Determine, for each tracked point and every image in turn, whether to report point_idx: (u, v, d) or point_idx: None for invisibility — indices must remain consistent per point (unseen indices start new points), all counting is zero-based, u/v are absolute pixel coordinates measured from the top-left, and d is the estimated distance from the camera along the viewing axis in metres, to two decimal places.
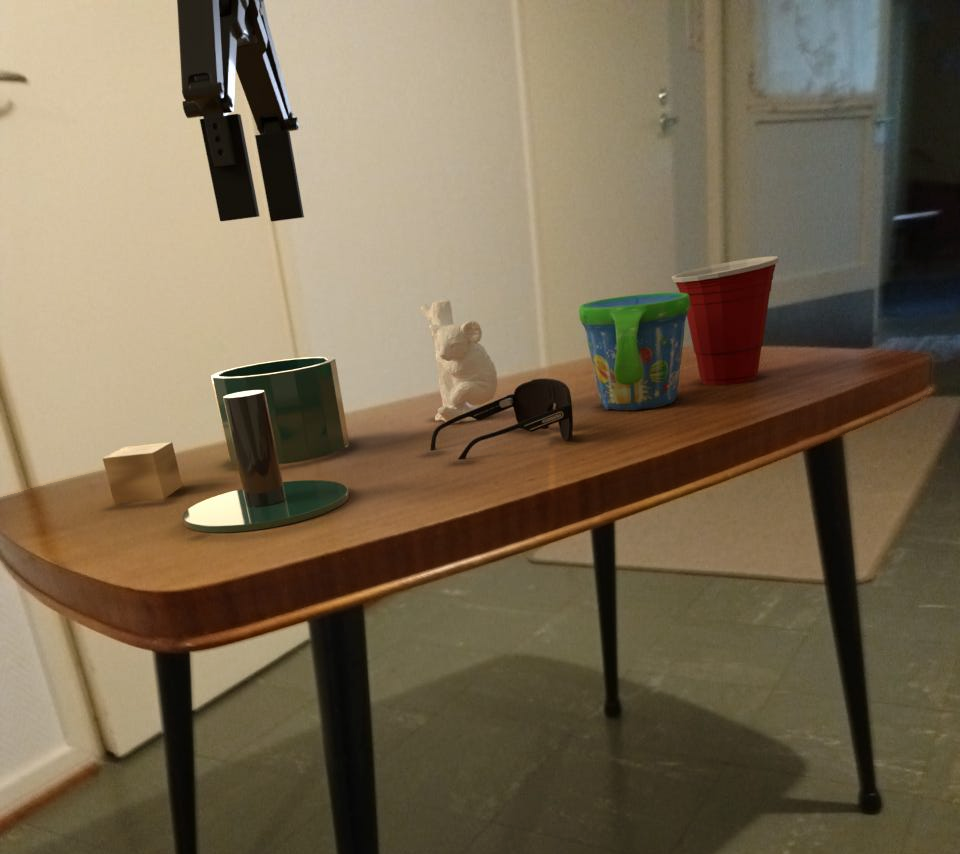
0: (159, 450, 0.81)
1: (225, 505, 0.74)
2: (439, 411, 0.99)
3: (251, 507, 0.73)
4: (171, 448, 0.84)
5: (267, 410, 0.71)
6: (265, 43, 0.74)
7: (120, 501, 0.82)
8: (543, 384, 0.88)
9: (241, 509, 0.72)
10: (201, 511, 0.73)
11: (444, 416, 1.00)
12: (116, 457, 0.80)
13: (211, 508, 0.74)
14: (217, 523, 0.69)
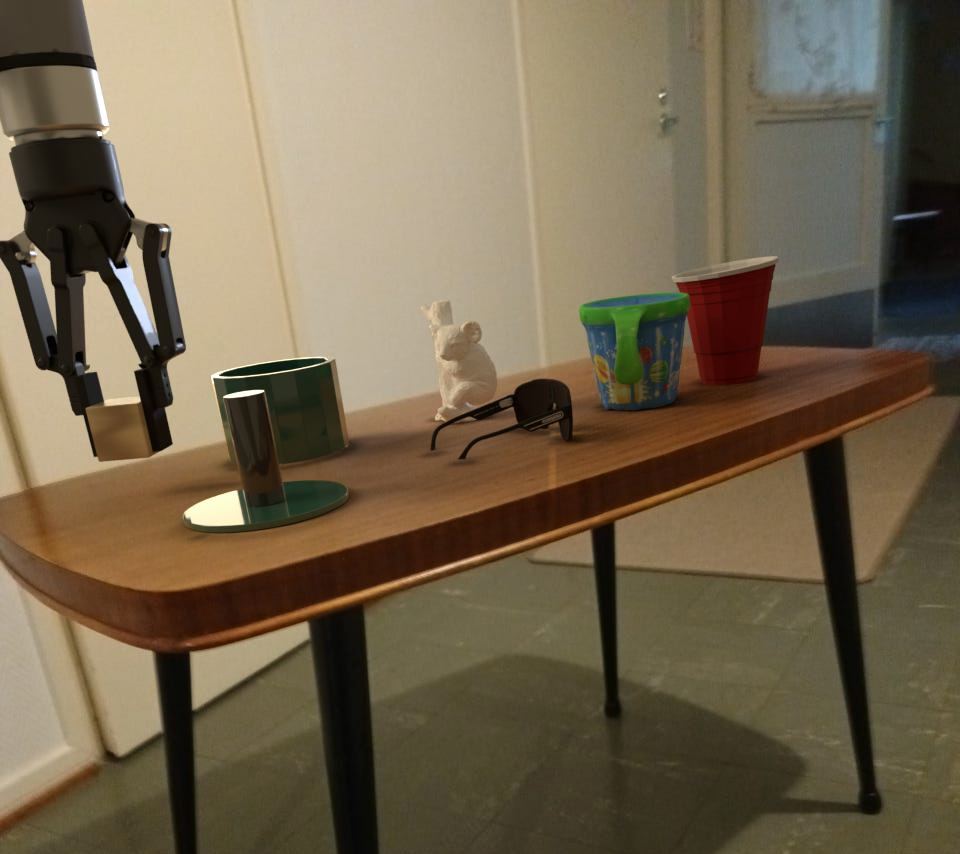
0: None
1: (225, 505, 0.74)
2: (439, 411, 0.99)
3: (251, 507, 0.73)
4: None
5: (267, 410, 0.71)
6: (84, 276, 0.79)
7: (103, 453, 0.80)
8: (543, 384, 0.89)
9: (241, 509, 0.72)
10: (201, 511, 0.73)
11: (444, 416, 1.00)
12: (99, 407, 0.79)
13: (211, 508, 0.74)
14: (217, 523, 0.69)
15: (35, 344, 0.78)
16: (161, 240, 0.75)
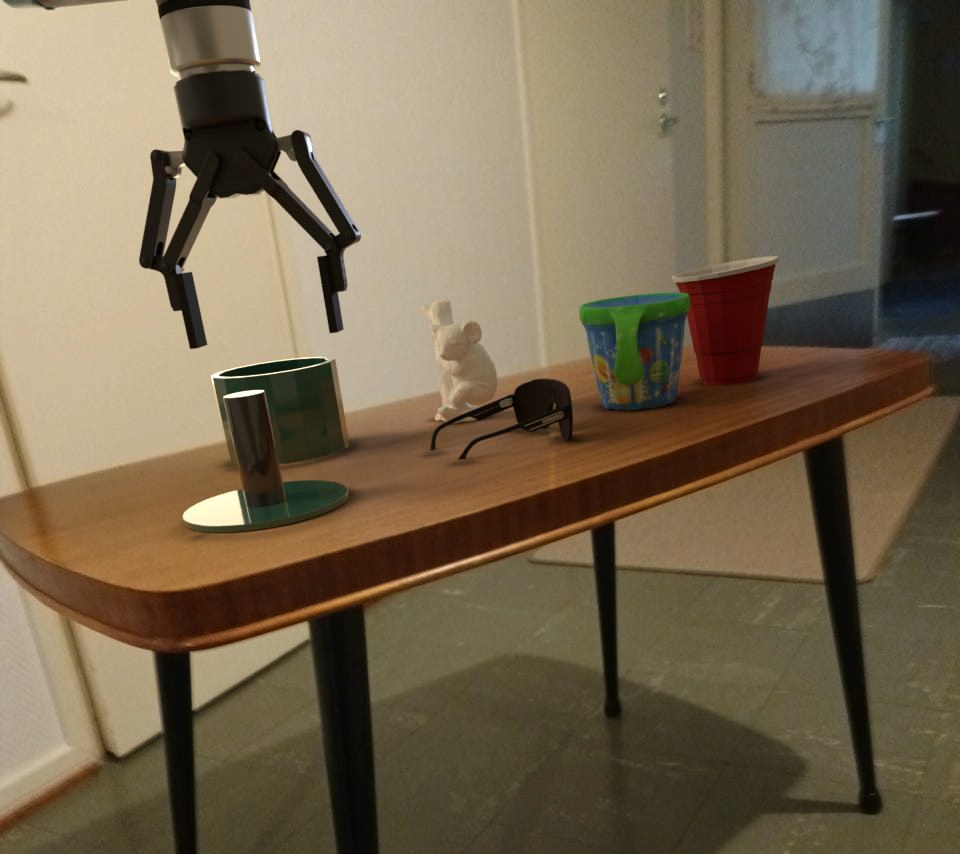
0: None
1: (225, 505, 0.74)
2: (439, 411, 0.99)
3: (251, 507, 0.73)
4: None
5: (267, 410, 0.71)
6: (215, 199, 0.88)
7: None
8: (543, 384, 0.88)
9: (241, 509, 0.72)
10: (201, 511, 0.73)
11: (444, 416, 1.00)
12: None
13: (211, 508, 0.74)
14: (217, 523, 0.69)
15: (147, 244, 0.87)
16: (307, 143, 0.83)
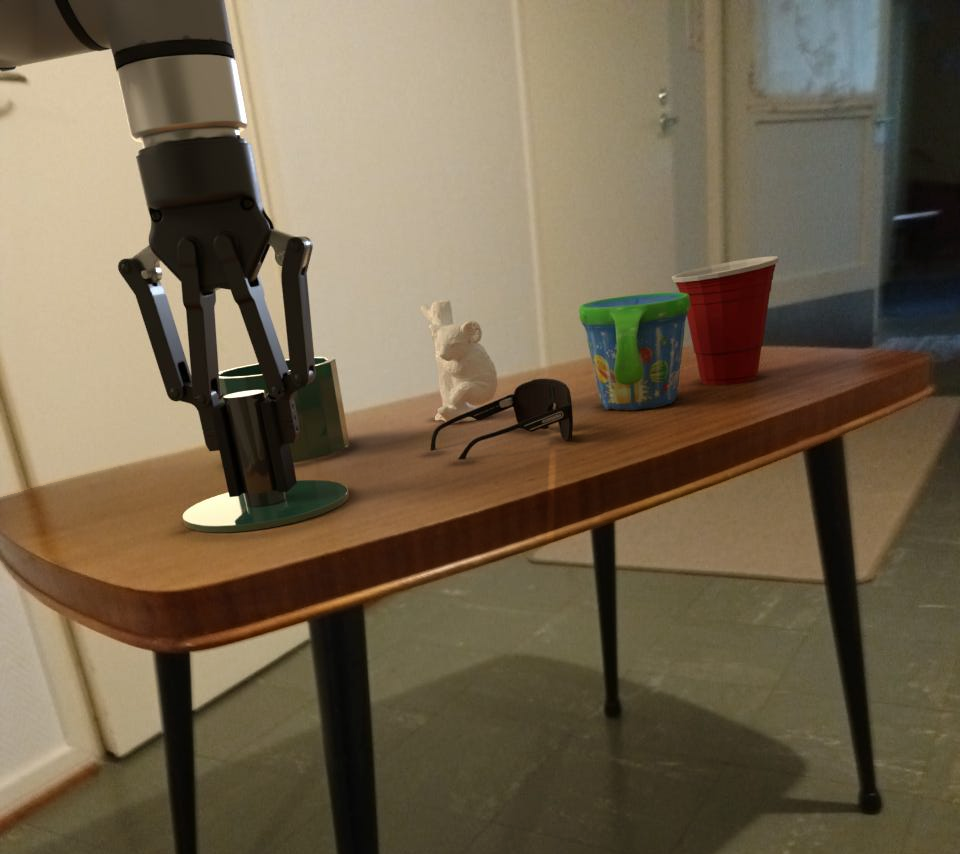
0: None
1: (225, 505, 0.74)
2: (439, 411, 0.99)
3: (251, 507, 0.73)
4: None
5: None
6: (214, 294, 0.70)
7: None
8: (543, 384, 0.89)
9: (241, 509, 0.72)
10: (201, 511, 0.73)
11: (444, 416, 1.00)
12: None
13: (211, 508, 0.74)
14: (217, 523, 0.69)
15: (166, 373, 0.69)
16: (303, 257, 0.66)
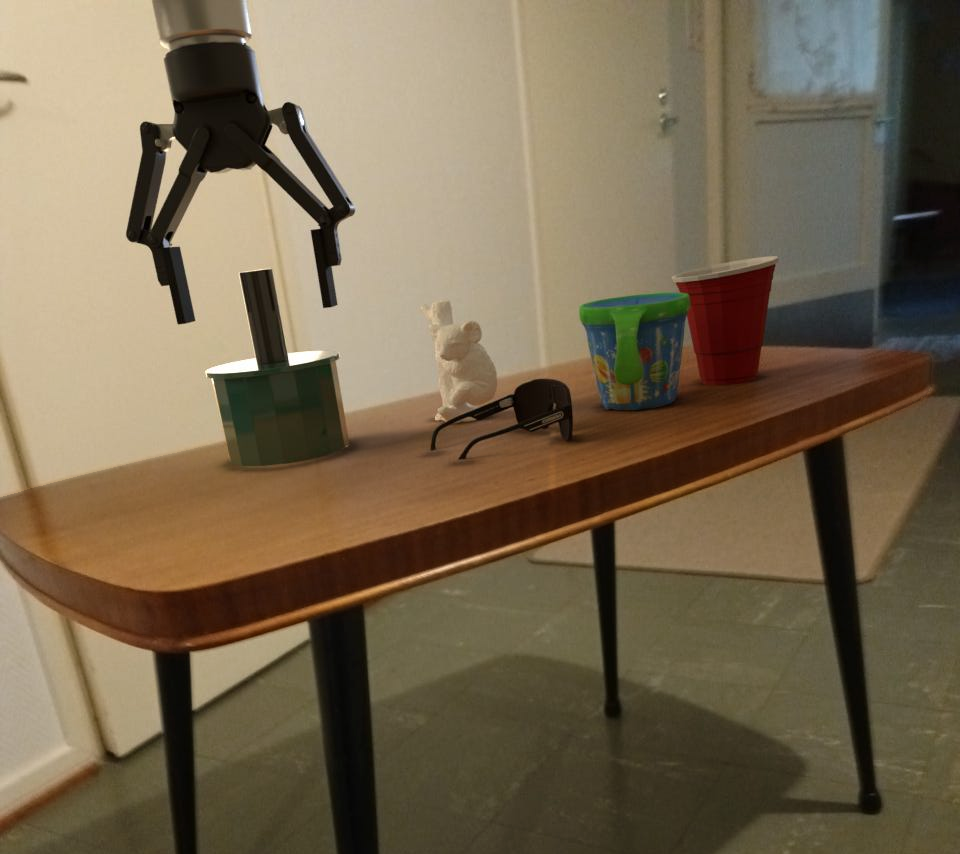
0: None
1: (239, 365, 0.92)
2: (439, 411, 0.99)
3: (261, 364, 0.90)
4: None
5: (274, 284, 0.89)
6: (205, 173, 0.87)
7: None
8: (543, 384, 0.89)
9: (253, 365, 0.90)
10: (220, 368, 0.91)
11: (444, 416, 1.00)
12: None
13: (228, 367, 0.91)
14: (234, 371, 0.87)
15: (134, 217, 0.86)
16: (298, 115, 0.82)
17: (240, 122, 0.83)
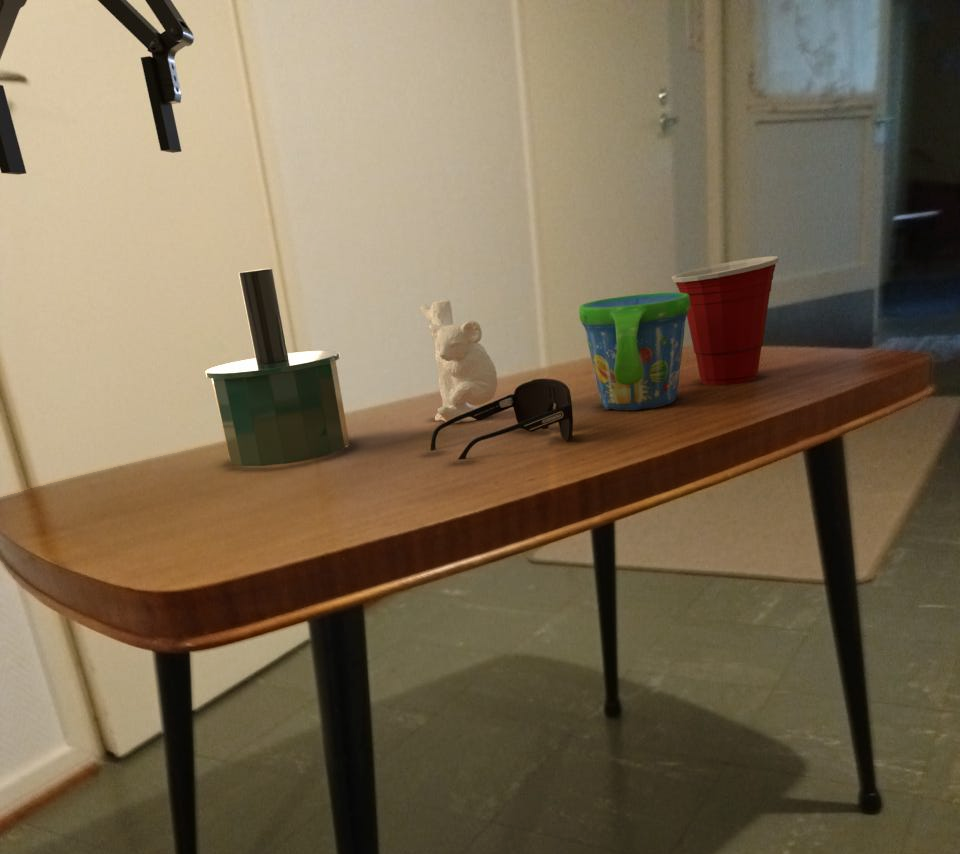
0: None
1: (239, 365, 0.92)
2: (439, 411, 0.99)
3: (261, 364, 0.90)
4: None
5: (274, 284, 0.89)
6: None
7: None
8: (543, 384, 0.89)
9: (253, 365, 0.90)
10: (220, 368, 0.91)
11: (444, 416, 1.00)
12: None
13: (228, 367, 0.91)
14: (234, 371, 0.87)
15: None
16: None
17: None
